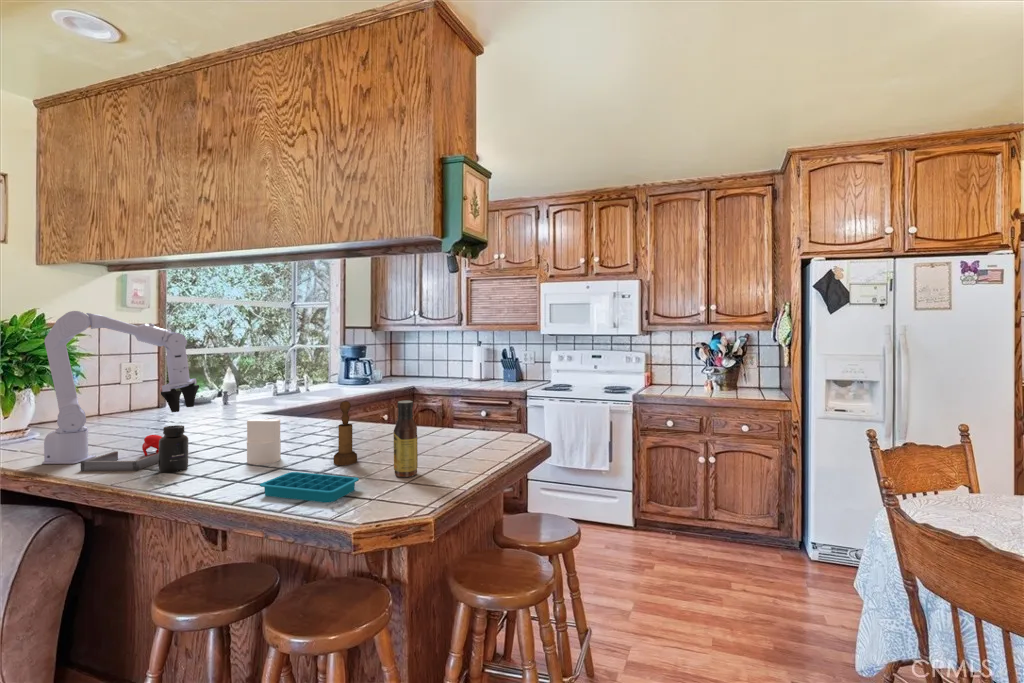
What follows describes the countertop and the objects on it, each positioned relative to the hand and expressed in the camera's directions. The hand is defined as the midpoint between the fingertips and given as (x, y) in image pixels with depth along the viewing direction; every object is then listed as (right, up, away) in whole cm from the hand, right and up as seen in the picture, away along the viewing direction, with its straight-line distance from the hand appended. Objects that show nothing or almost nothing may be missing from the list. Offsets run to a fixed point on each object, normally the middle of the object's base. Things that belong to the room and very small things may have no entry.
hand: (182, 409), depth 165 cm
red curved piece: (-2, -13, -10) cm, 16 cm away
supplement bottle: (+15, -13, -27) cm, 34 cm away
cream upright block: (+35, -13, -17) cm, 41 cm away
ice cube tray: (+61, -14, -46) cm, 78 cm away
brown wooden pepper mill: (+60, -13, -19) cm, 65 cm away
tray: (-2, -13, -22) cm, 26 cm away
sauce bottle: (+81, -14, -32) cm, 88 cm away
